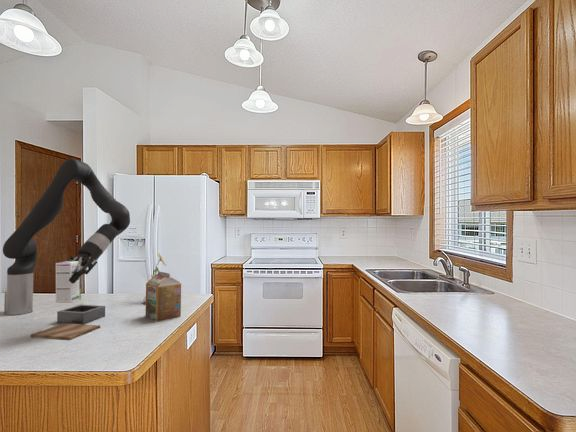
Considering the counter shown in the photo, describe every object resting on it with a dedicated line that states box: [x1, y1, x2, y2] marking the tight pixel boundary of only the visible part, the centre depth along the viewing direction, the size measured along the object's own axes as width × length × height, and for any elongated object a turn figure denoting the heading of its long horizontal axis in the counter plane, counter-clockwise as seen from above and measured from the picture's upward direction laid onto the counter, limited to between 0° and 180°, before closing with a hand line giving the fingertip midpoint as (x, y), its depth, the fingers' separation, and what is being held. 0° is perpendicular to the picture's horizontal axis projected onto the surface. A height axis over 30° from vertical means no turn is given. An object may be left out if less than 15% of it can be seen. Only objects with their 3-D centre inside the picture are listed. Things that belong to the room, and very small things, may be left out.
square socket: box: [56, 304, 106, 325], centre depth 140 cm, size 12×12×4 cm
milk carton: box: [145, 270, 182, 323], centre depth 146 cm, size 11×11×19 cm
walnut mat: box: [30, 323, 101, 341], centre depth 124 cm, size 16×14×1 cm
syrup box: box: [55, 260, 82, 304], centre depth 125 cm, size 6×6×14 cm
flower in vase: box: [142, 252, 167, 303], centre depth 173 cm, size 13×11×25 cm
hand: (64, 281), depth 123 cm, fingers closed on syrup box, 7 cm apart
